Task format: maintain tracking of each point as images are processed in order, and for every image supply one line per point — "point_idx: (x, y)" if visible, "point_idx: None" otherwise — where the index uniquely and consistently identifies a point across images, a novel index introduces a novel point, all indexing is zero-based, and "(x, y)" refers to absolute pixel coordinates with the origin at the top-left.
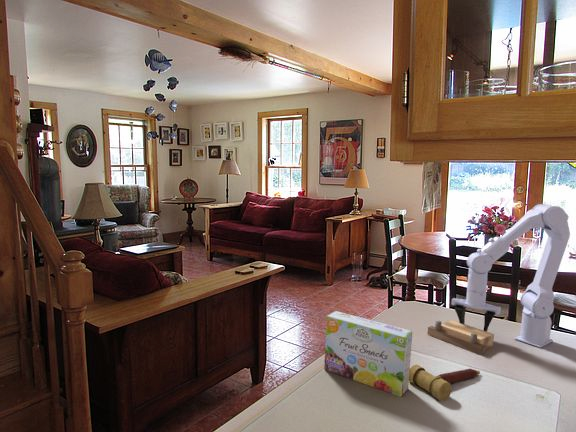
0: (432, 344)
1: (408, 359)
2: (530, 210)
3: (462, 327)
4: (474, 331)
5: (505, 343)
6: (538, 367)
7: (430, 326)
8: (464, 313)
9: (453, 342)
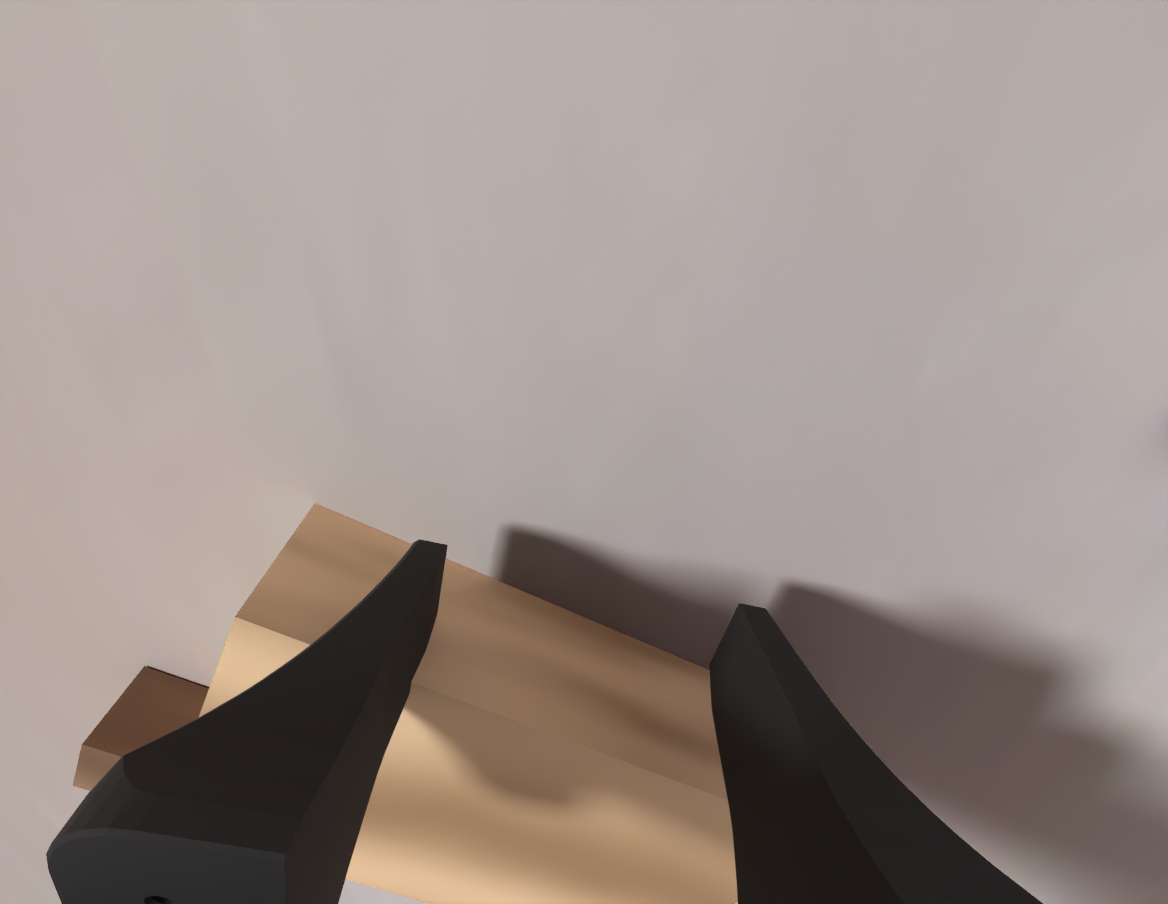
0: None
1: None
2: None
3: (437, 799)
4: (590, 848)
5: (957, 600)
6: (1047, 897)
7: (84, 766)
8: (361, 747)
9: None
